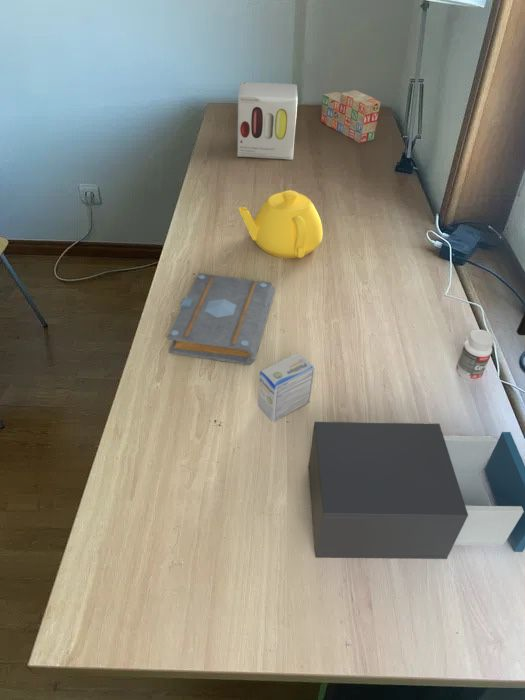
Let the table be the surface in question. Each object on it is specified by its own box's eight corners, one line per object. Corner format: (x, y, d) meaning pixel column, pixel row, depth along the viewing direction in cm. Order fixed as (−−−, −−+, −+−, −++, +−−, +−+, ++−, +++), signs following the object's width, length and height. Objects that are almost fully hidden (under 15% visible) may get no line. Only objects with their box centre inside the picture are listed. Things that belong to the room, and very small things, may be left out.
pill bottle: (473, 384, 100) (487, 349, 94) (450, 370, 102) (462, 335, 97) (487, 372, 102) (501, 337, 97) (464, 359, 105) (477, 324, 99)
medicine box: (294, 387, 98) (297, 350, 92) (310, 403, 95) (315, 366, 90) (257, 407, 94) (258, 369, 89) (273, 423, 92) (276, 386, 86)
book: (254, 367, 102) (255, 346, 98) (166, 354, 104) (164, 333, 100) (274, 299, 117) (275, 279, 114) (197, 289, 119) (196, 269, 116)
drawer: (529, 470, 85) (551, 432, 79) (565, 552, 75) (593, 516, 69) (383, 468, 85) (394, 430, 79) (399, 551, 75) (413, 514, 69)
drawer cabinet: (422, 468, 86) (439, 423, 79) (446, 559, 75) (468, 515, 68) (308, 467, 85) (314, 421, 78) (315, 557, 75) (323, 513, 68)
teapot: (308, 222, 142) (313, 173, 133) (334, 262, 128) (341, 211, 120) (231, 230, 138) (230, 181, 129) (249, 273, 124) (250, 221, 116)
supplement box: (236, 158, 170) (236, 95, 158) (239, 141, 180) (239, 80, 168) (293, 160, 170) (298, 98, 158) (293, 143, 180) (297, 83, 168)
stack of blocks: (319, 122, 194) (323, 84, 186) (334, 119, 197) (338, 81, 189) (360, 143, 181) (365, 104, 173) (374, 140, 184) (381, 100, 175)
